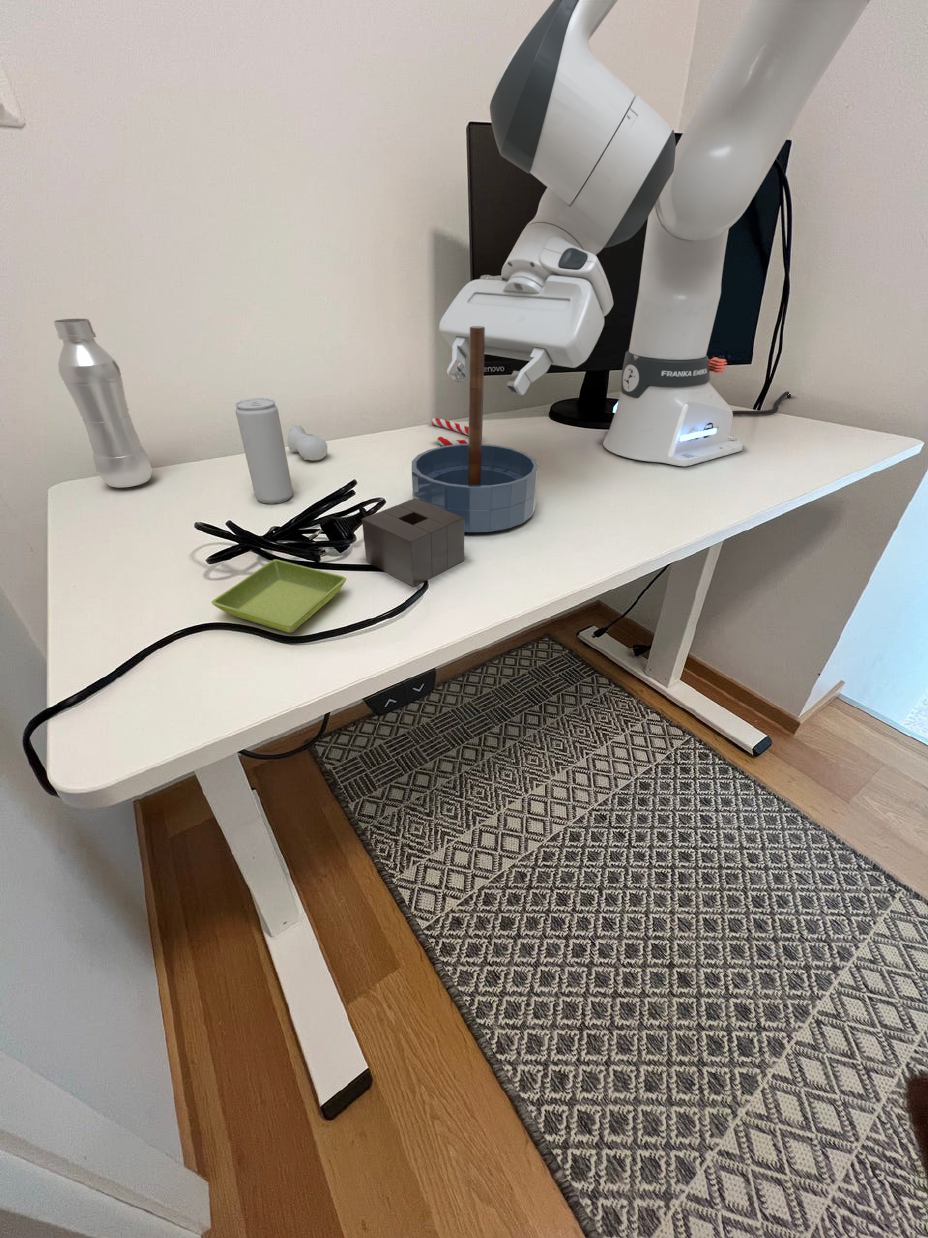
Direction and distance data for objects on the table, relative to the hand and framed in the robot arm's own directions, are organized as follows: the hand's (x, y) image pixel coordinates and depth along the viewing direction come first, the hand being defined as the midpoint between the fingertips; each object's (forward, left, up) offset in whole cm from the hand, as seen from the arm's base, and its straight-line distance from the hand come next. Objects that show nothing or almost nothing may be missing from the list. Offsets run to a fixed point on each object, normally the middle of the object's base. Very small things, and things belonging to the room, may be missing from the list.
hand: (482, 384), depth 62 cm
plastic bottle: (+42, -24, -15) cm, 51 cm away
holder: (+12, +11, -15) cm, 22 cm away
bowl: (+1, +1, -15) cm, 15 cm away
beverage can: (+24, -12, -15) cm, 31 cm away
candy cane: (-7, -29, -15) cm, 33 cm away
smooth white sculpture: (+17, -27, -15) cm, 35 cm away
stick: (+1, +1, -14) cm, 14 cm away
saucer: (+26, +15, -15) cm, 34 cm away
